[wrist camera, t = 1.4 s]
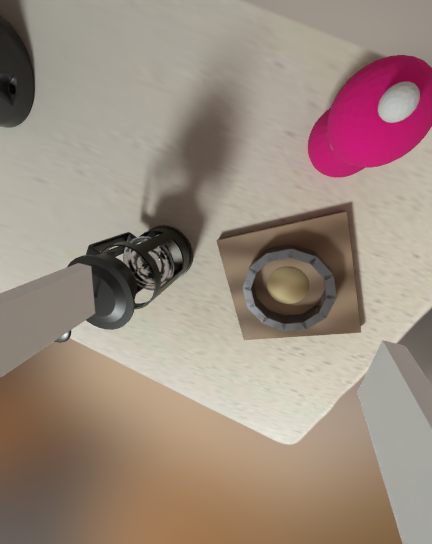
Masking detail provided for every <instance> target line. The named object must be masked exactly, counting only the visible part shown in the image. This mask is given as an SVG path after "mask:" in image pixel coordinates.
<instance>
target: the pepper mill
mask: <svg viewBox="0 0 432 544" xmlns="http://www.w3.org/2000/svg"><path fill="white" fill-rule="evenodd" d="M431 127H432V68H431V67H430V66H429V65H428V64H427V63H426V62H425V61H423V60H421V59H418V58H416V57H413V56H406V55H397V56H389V57H386V58H383V59H380V60H377V61H375V62H373V63H371V64H369V65H368V66H366V67H364V68H363V69H361V70H360V71H359V72H357V73H356V74H355V75H354V76H353V77H352V78H350V79H349V81H348V82H347V83H346V84H345V85H344V86H343V88H342V89H341V90H340V92H339V93H338V95H337V97H336V99H335V101H334V103H333V104H332V107H331V108H330V109H329V110H327V111H326V112H325V113H324V114H323V115H322V116H321V117H320V118H319V119H318V121H317V122H316V123H315V125H314V127H313V129H312V131H311V133H310V137H309V141H308V153H309V157H310V160H311V162H312V164H313V166H314V167H315V168H316V169H317V170H318V171H319V172H321V173H322V174H324V175H327V176H330V177H346V176H349V175H352V174H355V173H357V172H359V171H360V170H362V169H364V168H365V167H377V166H381V165H385V164H388V163H390V162H392V161H394V160H396V159H398V158H400V157H402V156H404V155H405V154H407V153H408V152H409V151H411V150H412V149H413V148H414V147H415V146H416V145H418V143H419V142H420V141H421V140H422V139H423V138H424V137H425V136H426V134H427V133H428V131H429V130H430V128H431Z"/></svg>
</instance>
